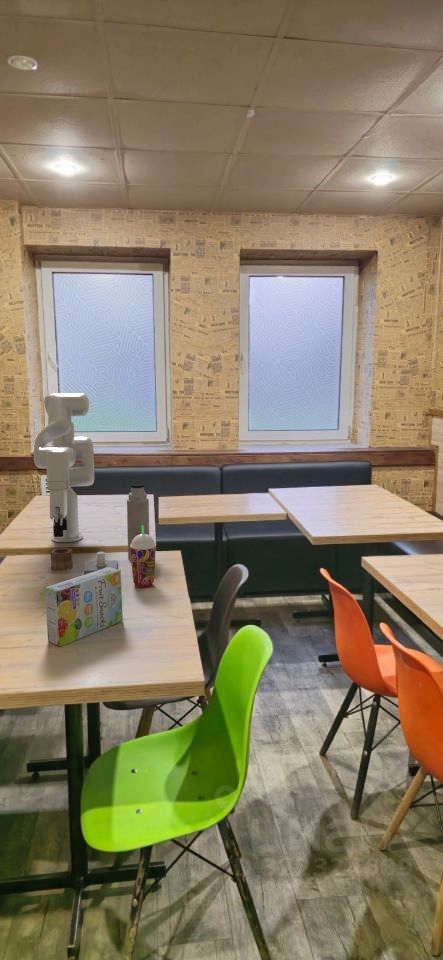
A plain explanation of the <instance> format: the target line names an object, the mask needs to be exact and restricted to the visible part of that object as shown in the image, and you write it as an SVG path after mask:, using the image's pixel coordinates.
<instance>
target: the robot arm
mask: <svg viewBox="0 0 443 960" xmlns="http://www.w3.org/2000/svg"><path fill="white" fill-rule="evenodd" d="M43 404H44V409H45V411H46V415H47V425H46V426H45V427H44V428H43V429H41V430H40V432H39V433H38V434H37V436H36V438H35V440H34V444H33V445H34V446H33V462H34V464H35V466H36V467H37V468H39V469H46V485H47V491H49V519H50V520H53V525H52V528H53V529H52V531H53V533H52V534H53V535H52V536H51V540H52V541H53V542H56V543H74V542H78V541H81V540H82V539H84V534H82V533H80V528H79V499H78V495H77V493H76V492H75V491H74V490H73V487H89V486H92V485H93V484H94V482H95V456H94V452H95V451H94V443H93V440H92V439H91V438H90V437H88V436H75V426H74V422H73V421H72V417H84V416H87V415H88V413H89V408H90V400H89V397H88V395H87V394H86V393H82V392H81V393H80V392H79V393H78V392H76V393H75V392H72V393H70V392H69V393H68V392H67V393H66V392H61V393H59V392H58V393H56V392H55V393H49V394H46V395H45V396H44V399H43ZM50 442H52V447H51V446H47V447H46V445H47V444H49V443H50ZM76 461H81V462H79V463H77V462H76Z"/></svg>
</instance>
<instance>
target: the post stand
mask: <svg viewBox="0 0 443 960" xmlns="http://www.w3.org/2000/svg"><path fill="white" fill-rule="evenodd" d="M85 562H86V563H85V566H84V568H83V575H85V574H88V573H92V572H95V571H98V570H101V569H104V568H107V567H111V568H114V569H117V570H118V566H119V561H118V559H107V560H106V553H105V551H98V552H96V560H86V561H85Z"/></svg>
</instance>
